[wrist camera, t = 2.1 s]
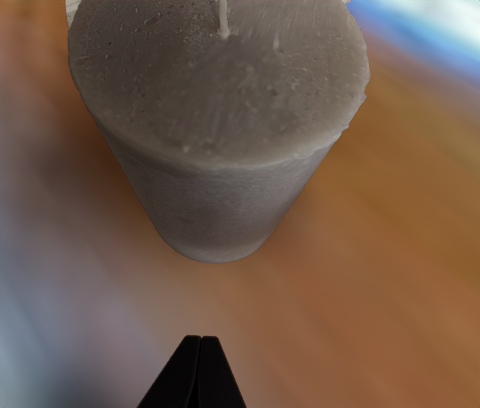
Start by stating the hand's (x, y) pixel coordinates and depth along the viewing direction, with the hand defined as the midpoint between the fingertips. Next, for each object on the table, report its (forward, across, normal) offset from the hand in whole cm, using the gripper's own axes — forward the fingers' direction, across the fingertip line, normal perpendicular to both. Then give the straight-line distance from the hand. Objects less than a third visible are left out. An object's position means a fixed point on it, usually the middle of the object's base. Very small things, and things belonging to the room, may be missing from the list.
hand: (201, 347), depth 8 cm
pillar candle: (+15, 0, +2) cm, 15 cm away
